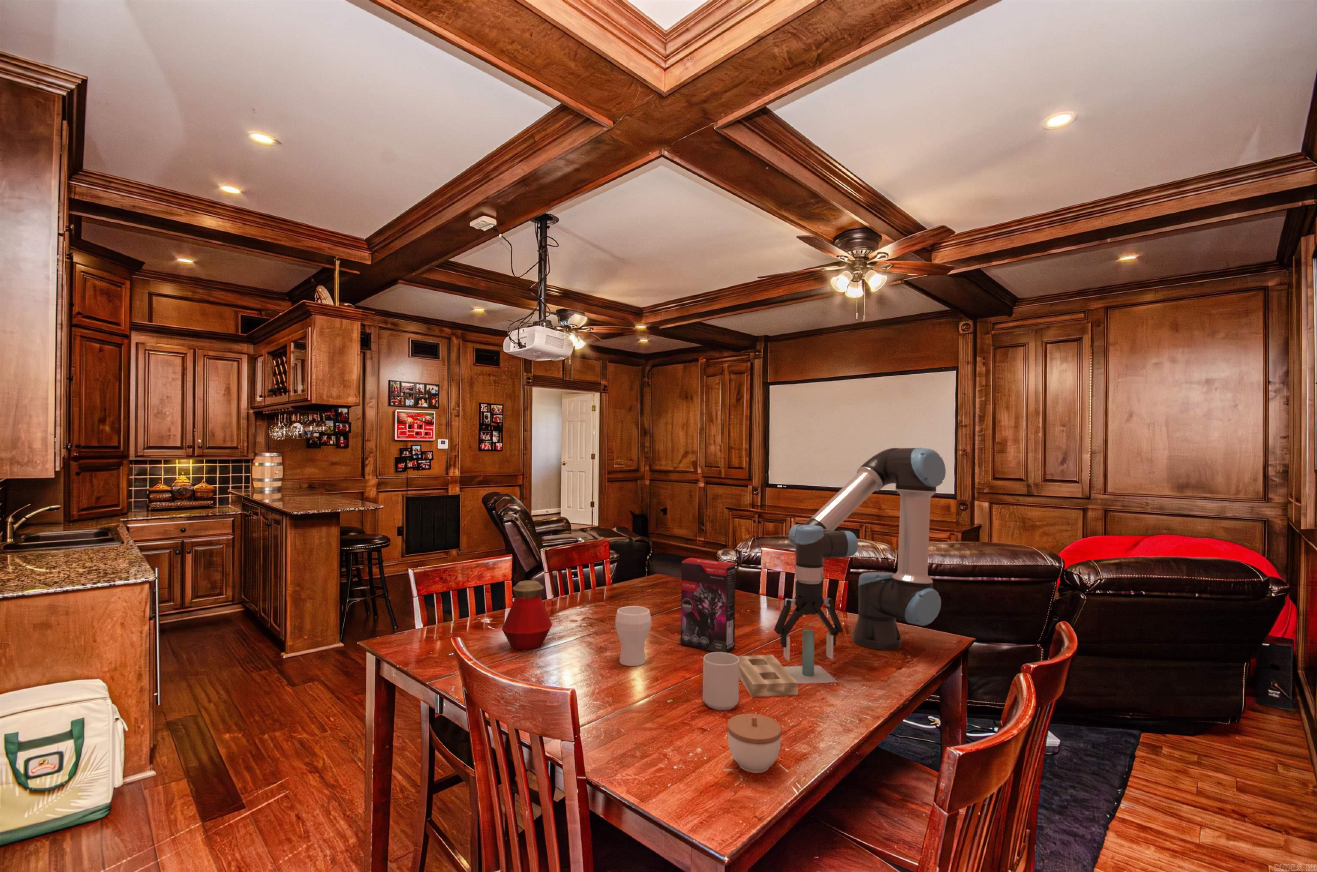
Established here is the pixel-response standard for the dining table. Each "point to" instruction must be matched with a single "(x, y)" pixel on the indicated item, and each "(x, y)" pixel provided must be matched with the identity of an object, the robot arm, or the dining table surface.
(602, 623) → the dining table surface
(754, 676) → the hole block
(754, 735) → the lidded jar
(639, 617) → the cup
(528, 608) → the bottle
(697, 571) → the graphics card box
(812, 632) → the peg
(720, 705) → the mug
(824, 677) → the mat
